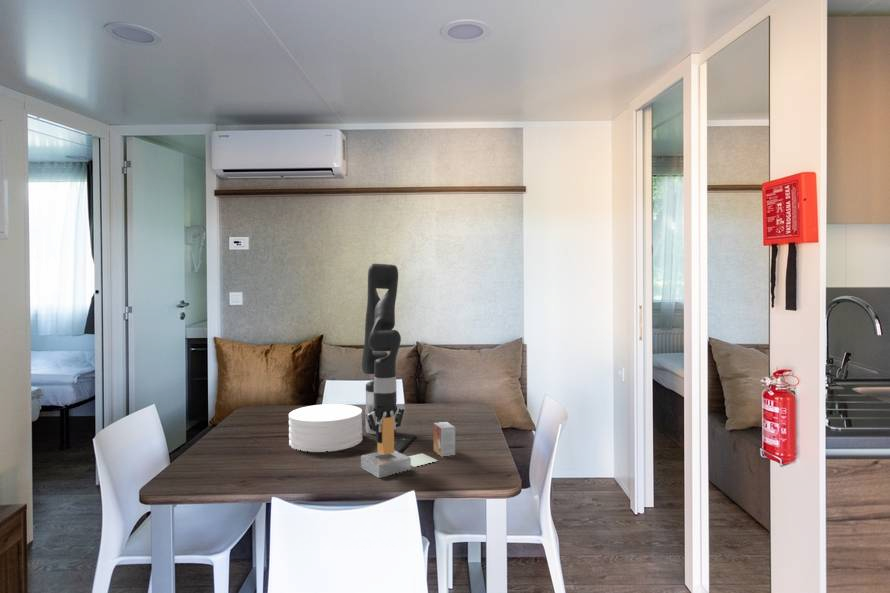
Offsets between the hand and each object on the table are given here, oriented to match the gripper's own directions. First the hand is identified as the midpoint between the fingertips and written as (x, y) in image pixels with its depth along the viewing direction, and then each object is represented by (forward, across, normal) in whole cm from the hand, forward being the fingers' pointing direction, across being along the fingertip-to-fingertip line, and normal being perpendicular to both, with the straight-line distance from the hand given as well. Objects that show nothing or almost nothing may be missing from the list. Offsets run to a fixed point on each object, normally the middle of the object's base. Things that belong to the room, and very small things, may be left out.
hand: (385, 441), depth 180 cm
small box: (+9, -25, -1) cm, 27 cm away
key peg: (+4, 0, 0) cm, 4 cm away
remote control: (+10, -17, -18) cm, 27 cm away
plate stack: (+10, +2, -42) cm, 43 cm away
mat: (+9, -13, 0) cm, 16 cm away
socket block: (+9, 0, 0) cm, 9 cm away
